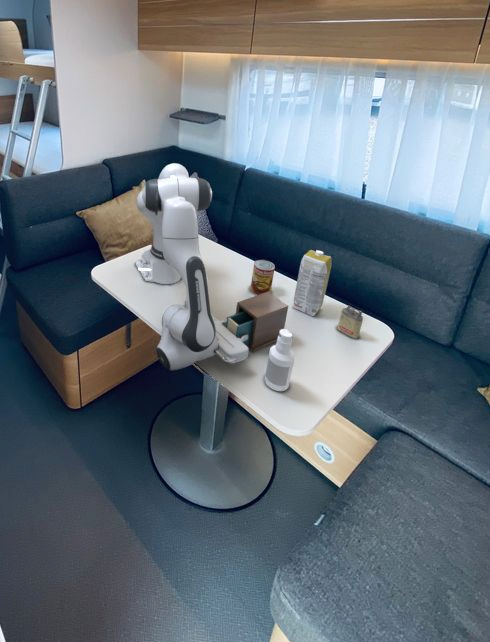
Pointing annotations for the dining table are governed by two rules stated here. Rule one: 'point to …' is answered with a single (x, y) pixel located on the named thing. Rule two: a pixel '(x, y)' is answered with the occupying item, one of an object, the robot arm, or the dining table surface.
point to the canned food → (262, 277)
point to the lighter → (350, 322)
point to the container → (240, 325)
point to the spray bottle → (280, 362)
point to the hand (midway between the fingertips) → (238, 329)
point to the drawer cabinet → (264, 318)
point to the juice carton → (312, 282)
